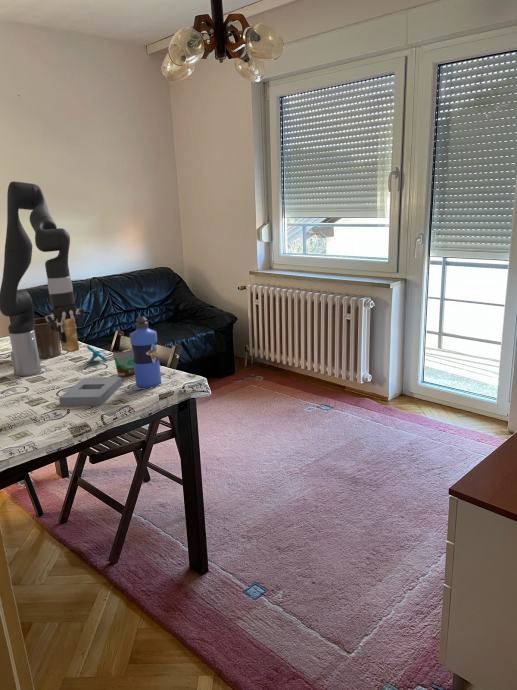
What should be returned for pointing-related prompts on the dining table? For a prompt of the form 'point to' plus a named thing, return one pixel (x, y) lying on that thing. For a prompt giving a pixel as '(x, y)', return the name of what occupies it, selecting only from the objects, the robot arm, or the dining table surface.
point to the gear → (95, 354)
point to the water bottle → (145, 355)
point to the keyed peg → (70, 336)
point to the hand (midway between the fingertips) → (69, 341)
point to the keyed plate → (90, 391)
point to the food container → (124, 363)
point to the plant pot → (46, 339)
